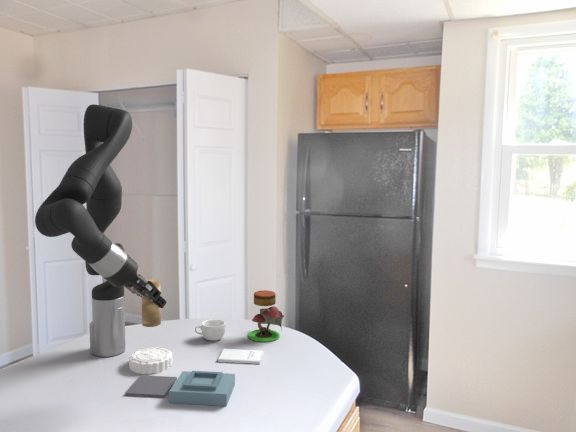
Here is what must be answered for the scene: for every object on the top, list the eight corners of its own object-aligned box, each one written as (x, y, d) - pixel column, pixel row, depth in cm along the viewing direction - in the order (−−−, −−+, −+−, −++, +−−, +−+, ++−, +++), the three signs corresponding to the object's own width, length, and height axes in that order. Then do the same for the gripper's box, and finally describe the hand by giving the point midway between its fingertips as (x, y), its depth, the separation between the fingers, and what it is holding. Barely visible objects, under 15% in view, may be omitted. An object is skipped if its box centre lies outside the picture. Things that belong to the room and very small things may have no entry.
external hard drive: (224, 353, 146) (263, 355, 145) (217, 364, 137) (260, 366, 136) (223, 348, 145) (263, 349, 144) (217, 358, 137) (260, 360, 136)
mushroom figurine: (271, 346, 150) (272, 300, 148) (239, 337, 157) (240, 294, 155) (290, 335, 160) (291, 292, 158) (260, 327, 167) (261, 286, 165)
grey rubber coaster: (125, 395, 117) (125, 393, 117) (140, 377, 127) (140, 375, 127) (164, 397, 116) (164, 395, 116) (177, 379, 126) (176, 377, 126)
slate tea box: (169, 402, 113) (169, 387, 113) (182, 382, 124) (182, 367, 124) (226, 406, 112) (226, 390, 112) (234, 384, 123) (235, 370, 123)
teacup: (225, 334, 160) (225, 318, 159) (225, 342, 152) (225, 326, 152) (195, 335, 159) (195, 319, 158) (194, 343, 151) (194, 327, 150)
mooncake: (181, 365, 135) (180, 353, 135) (143, 379, 126) (143, 366, 126) (158, 353, 143) (157, 342, 143) (121, 365, 134) (120, 353, 134)
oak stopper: (139, 326, 117) (138, 283, 116) (146, 320, 122) (145, 279, 121) (157, 327, 117) (156, 284, 116) (163, 321, 122) (163, 279, 120)
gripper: (139, 255, 107) (183, 296, 117) (108, 247, 117) (151, 285, 127) (118, 282, 104) (165, 322, 114) (87, 271, 113) (134, 309, 123)
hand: (157, 302), depth 120 cm, fingers closed on oak stopper, 4 cm apart
